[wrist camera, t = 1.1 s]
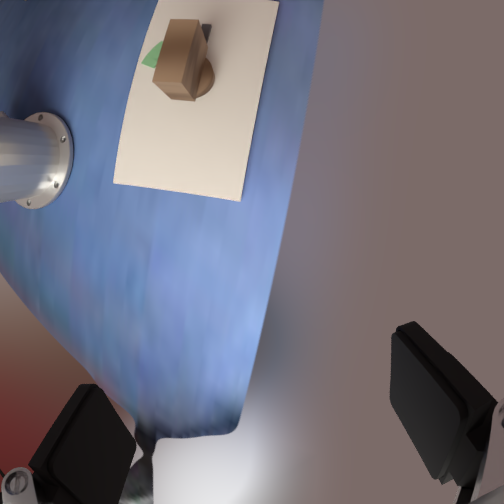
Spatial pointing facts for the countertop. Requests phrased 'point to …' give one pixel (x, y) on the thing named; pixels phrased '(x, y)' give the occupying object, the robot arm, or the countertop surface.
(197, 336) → the countertop surface
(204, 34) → the brown piece
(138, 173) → the white rectangular slab
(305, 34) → the countertop surface
